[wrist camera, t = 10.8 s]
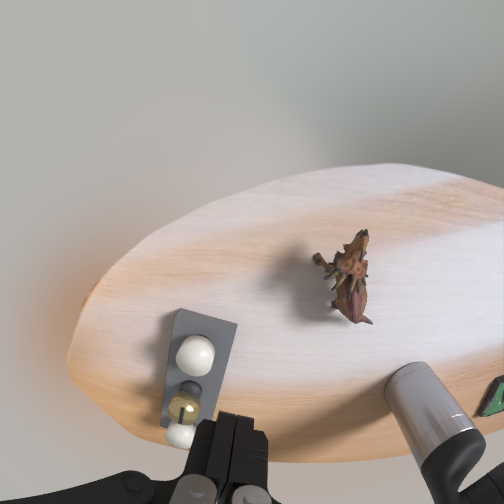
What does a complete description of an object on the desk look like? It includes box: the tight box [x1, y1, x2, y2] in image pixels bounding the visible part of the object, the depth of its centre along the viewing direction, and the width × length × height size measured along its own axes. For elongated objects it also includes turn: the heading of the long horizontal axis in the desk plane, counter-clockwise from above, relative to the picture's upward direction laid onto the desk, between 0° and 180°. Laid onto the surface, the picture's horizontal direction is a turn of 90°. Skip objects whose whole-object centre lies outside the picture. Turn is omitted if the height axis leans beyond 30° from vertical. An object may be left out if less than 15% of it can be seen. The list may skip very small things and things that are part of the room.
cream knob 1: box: [176, 335, 215, 376], centre depth 34 cm, size 4×4×3 cm
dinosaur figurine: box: [313, 229, 373, 324], centre depth 33 cm, size 14×6×9 cm, turn 20°
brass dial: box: [167, 391, 201, 426], centre depth 34 cm, size 4×4×3 cm
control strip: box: [160, 308, 237, 429], centre depth 39 cm, size 22×8×4 cm, turn 166°
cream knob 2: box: [165, 421, 196, 449], centre depth 37 cm, size 4×4×3 cm
